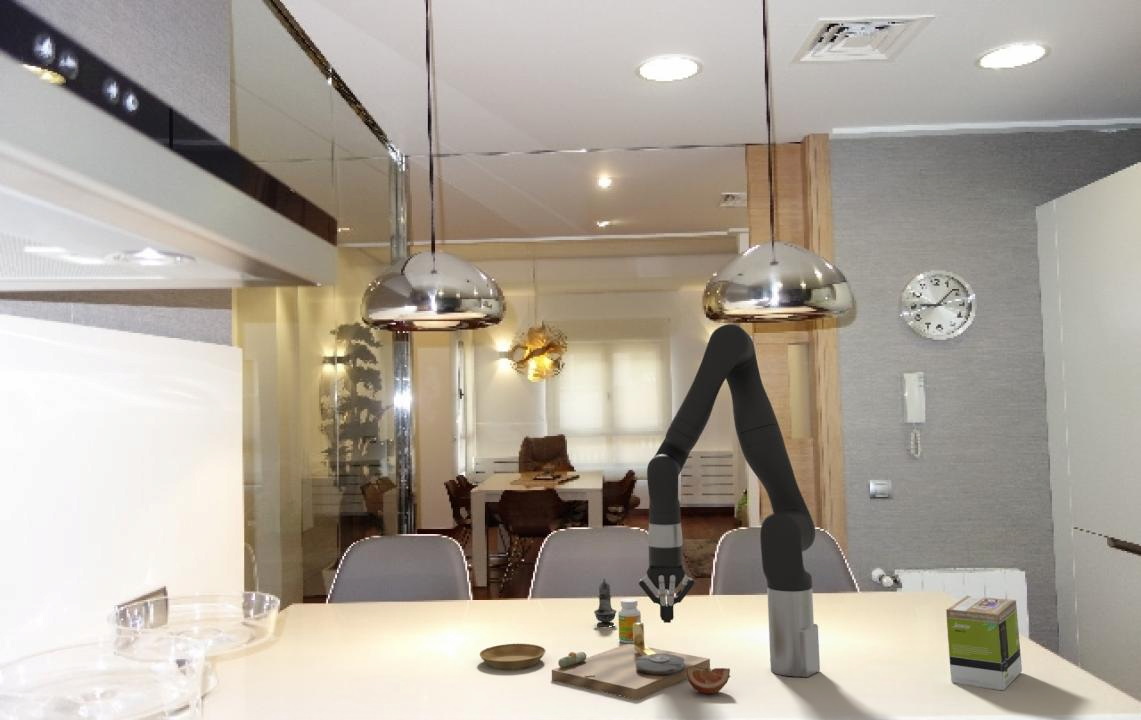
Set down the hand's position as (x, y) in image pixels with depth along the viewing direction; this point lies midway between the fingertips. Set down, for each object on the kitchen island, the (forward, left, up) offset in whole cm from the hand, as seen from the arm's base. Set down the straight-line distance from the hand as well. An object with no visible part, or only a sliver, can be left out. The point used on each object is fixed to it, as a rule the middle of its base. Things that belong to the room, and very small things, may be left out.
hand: (666, 621), depth 196 cm
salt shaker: (+32, -17, -9) cm, 37 cm away
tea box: (-59, -26, -9) cm, 65 cm away
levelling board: (0, +13, -8) cm, 16 cm away
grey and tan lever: (-3, +10, -6) cm, 12 cm away
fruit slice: (-20, +15, -9) cm, 26 cm away
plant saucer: (+27, +22, -9) cm, 36 cm away
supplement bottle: (+17, -8, -9) cm, 21 cm away
